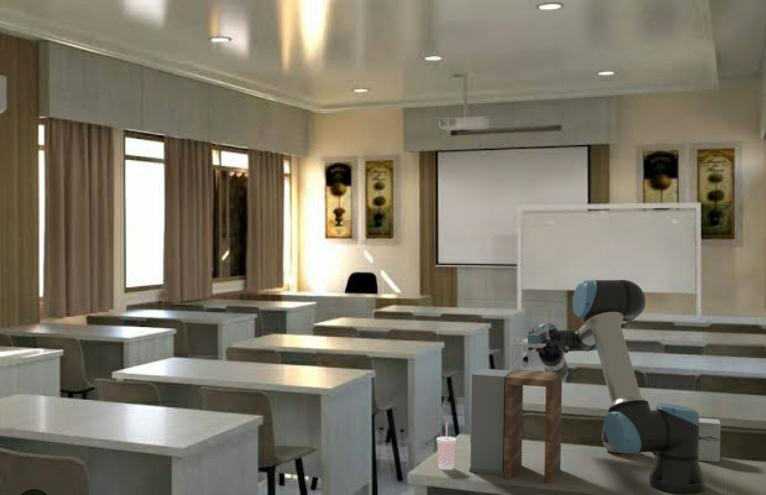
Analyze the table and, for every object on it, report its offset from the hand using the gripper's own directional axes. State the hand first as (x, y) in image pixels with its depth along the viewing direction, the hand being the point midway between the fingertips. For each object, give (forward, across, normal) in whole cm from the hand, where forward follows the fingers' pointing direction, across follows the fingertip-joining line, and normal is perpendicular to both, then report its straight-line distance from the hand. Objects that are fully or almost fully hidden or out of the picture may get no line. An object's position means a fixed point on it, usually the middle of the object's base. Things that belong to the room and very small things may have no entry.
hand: (540, 326), depth 270 cm
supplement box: (-49, -49, -22) cm, 73 cm away
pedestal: (-15, +13, -42) cm, 46 cm away
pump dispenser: (-47, -21, -23) cm, 56 cm away
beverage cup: (-10, +26, -44) cm, 52 cm away
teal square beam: (+2, 0, -6) cm, 7 cm away
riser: (-14, 0, -42) cm, 44 cm away
